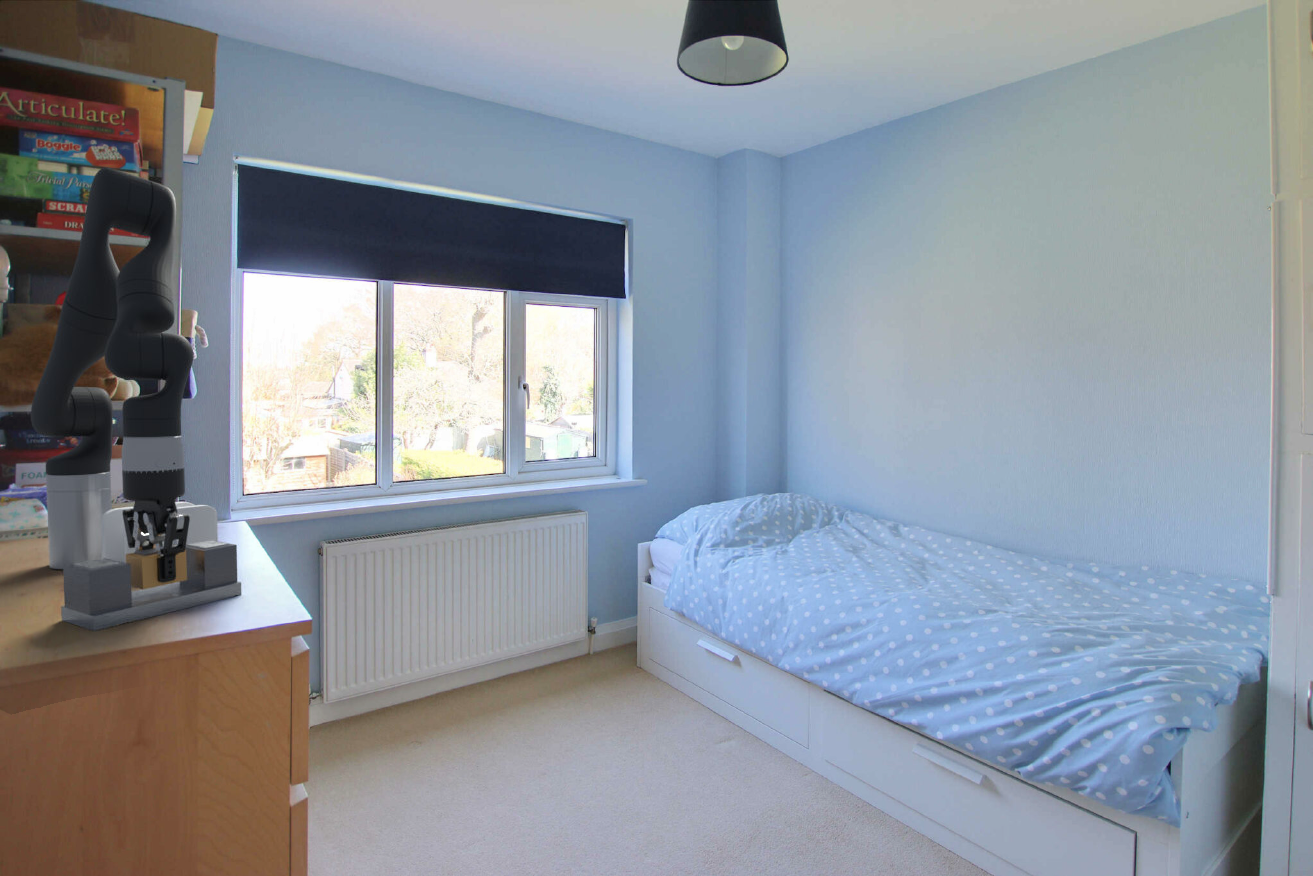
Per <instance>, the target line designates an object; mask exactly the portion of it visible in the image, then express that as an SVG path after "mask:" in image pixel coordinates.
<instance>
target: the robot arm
mask: <svg viewBox="0 0 1313 876" xmlns="http://www.w3.org/2000/svg"><path fill="white" fill-rule="evenodd" d="M89 189H90V190H89V193H88V198H87V202H86V203H87V204H86V208H85V214H84V219H83V220H84V221H83V227H82V232H81V237H80V244H79V247H78V251H77V256H76V258H75V259H76V261H75V263H74V266H73V270H72V273H71V276H70V280H69V283H68V284H67V285H68V286H67V288H66V292H65V294H64V298H63V302H62V306H61V309H60V315H59V319H58V323H57V329H56V332H55V336H54V341H53V345H52V348H51V351H50V355H49V357H48V361H47V363H46V365H45V368H44V371H43V372H42V374H41V378H40V379H39V383H38V386H37V388H36V390H35V393H34V396H33V400H32V402H31V403H32V404H31V408H30V409H31V410H30V422H31V425H32V428H33V429H34V431H35V432H36V433H37V434H38V435H40V436H42V437H43V436H44V437H51V438H65V437H66V438H68V437H69V438H70V437H80V442H79V443H78V444H77V445H76V446H75V447H73V448H72V449H70V450H68V451H65V452H63V453H59V454H57V455H54V456H51V457H49V458H47V460H46V462H45V480H46V481H45V485H46V486H45V487H46V507H47V508H46V509H47V531H48V535H47V537H48V560H49V563H48V564H49V566H48V567H49V568H50V569H53V570H63V565H69V564H75V563H81V562H87V561H92V560H98V559H102V535H101V517H102V515H103V514H104V513H105V512H107V511H109V510H111V509H113V507H112V506H113V505H112V480H111V478H112V477H111V475H112V473H111V462H112V455H113V428H114V427H113V426H114V425H113V423H114V418H113V417H114V411H113V402H112V398H111V396H110V394H109V393H108V391H106V390H105V389H104V388H101V387H92V386H76V384H77V382H78V380H79V379H80V378H81V377H82V375H83V374H84V373H85V372H86V371H87V370H88V369H89V368H91V367H92V366H93V365H95V364H96V363H97V362H98V361H100V360H101V359H103V357H104V363H105V366H106V368H107V370H109V371H110V373H111V374H112V375H113V376H115V377H117V378H118V379H122V380H134V381H135V380H136V381H137V380H141V381H142V380H143V381H144V380H145V381H150V380H152V381H161V380H162V381H165V382H164V383H165V384H164V386H163V387H162V388H161V390H159V391H157V392H155V393H154V392H153V393H151V394H144V395H138V396H137V395H136V396H132V397H129V398H126V399H125V400H124V401H123V404H122V410H121V411H122V436H123V438H122V447H121V469H122V470H121V471H122V472H121V473H122V497H123V499H124V500H125V501H133V502H134V504H133V506H132V507H133V509H128V510H123V513H122V514H123V520H124V525H125V531H126V536H127V541H128V546H129V548H134V550H135V552H136V551H141V550H147V549H153V548H155V549H156V554H157V557H158V558H157V577H158V581H159V582H162V583H164V582H169V581H173V580H175V579H176V559H175V556H176V555H178V553H181V552H184V551H185V548H186V541H187V534H188V527H189V520H190V517H189V515H188V514H186V515H179V514H178V513H177V508H176V504H175V502H176V500H177V499H178V498H181V497H183V496H184V495H185V494H186V480H185V478H186V477H185V476H186V475H185V450H184V445H183V439H182V438H183V437H182V403H183V402H182V401H183V396H184V391H185V388H186V384H187V381H188V379H189V376H190V372H191V370H192V367H193V361H194V356H195V355H194V349H193V347H192V345H191V343H190V341H189V340H188V339H187V338H186V337H184V336H183V335H182V334H178V333H170V332H169V333H168V332H167V331H168V330H170V329H171V328H172V327H173V326H174V323H175V306H174V298H173V297H174V295H173V288H172V287H173V286H172V270H173V269H172V268H173V260H174V252H175V251H174V249H175V239H176V238H175V237H176V228H177V227H176V226H177V202H176V197H175V195H174V192H173V191H172V190H171V189H170V188H169V187H168V186H165V185H163V184H160V183H159V182H155V181H152V180H149V179H146V178H144V177H140V176H137V175H134V174H131V173H127V172H124V171H121V170H118V169H114V168H110V167H103V168H100V169H99V170H98V171H97V172H96V174H95V175H94V176H93V180H92V183H91V185H90V187H89ZM111 229H117V230H120V231H125V232H128V233H131V234H135V235H139V236H143V237H148V238H150V240H149V241H148V244H147V245H146V246H145V247H144V248H143V249H142V250H140V251H139V253H137V254H136V255H135V256H133V257H132V258H131V259H129V260H128V262H126V263H125V264H124V265H123V266H122V268H121V270H120V269H119V268H118V265H117V263H116V260H115V259H114V255H113V252H112V249H111V246H110V241H109V236H110V232H111ZM166 332H167V333H166ZM162 534H165V536H162ZM177 539H179V540H178V545H177ZM163 541H164V547H163V544H162V542H163Z"/></svg>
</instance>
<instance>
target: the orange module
mask: <svg viewBox="0 0 1313 876" xmlns="http://www.w3.org/2000/svg"><path fill="white" fill-rule="evenodd" d="M157 558H158V557H157V554H156V549H155V548H153V549H147V550H141V551H136V552H134V553H130V554H126V563H128V564H131V588H136V589H138V590H141V589H148V588H153V587H157V586H162V585H166V584H171V583H176V582H180V581H185V580H187V562H186V550H185V551H184V552H181V553H178V555H176V556H175V559H176V579H175V580H173V581H169V582H164V583H162V582H159V581H158V577H157Z"/></svg>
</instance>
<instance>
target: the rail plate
mask: <svg viewBox="0 0 1313 876" xmlns="http://www.w3.org/2000/svg"><path fill="white" fill-rule="evenodd" d="M237 549H238V546H237V544H233V543H229V542H222V541H219V540H218V541H212V540H210V541H204V542H198V543H192V544H186V548H185V550H186V562H187V580H185V581H180V582H176V583H171V584H166V585H162V586H157V587H153V588H148V589H137V590H132V587H131V564H128V563H124V562H119V561H115V560H110V559H106V558H104V559H98V560H92V561H87V562H81V563H75V564H69V565H63V569H62V572H63V574H62V575H63V596H64V597H63V598H64V605H62V606H60V607H61V608H60V609H61V610H60V611H61V612H60V613H61V621H62V622H65V623H69V624H71V625H74V626H78V627H80V628H84V629H87V630H90V631H93V632H96V631H100V630H104V629H108V628H111V627H110V626H113V627H116V626H115V625H117V624H121V625H123V624H122V623H125V622H129V623H131V622H130V621H133V620H137V621H140V619H141V620H144V619H148V617H149V618H153V617H157V616H160V615H161V616H162V615H165V614H168V613H172V612H176V611H180V610H184V609H188V608H192V607H197V606H201V605H204V604H210V603H213V602H216V601H221V600H224V599H225V600H226V599H229V598H233V596H234V597H236V596H235V595H238V596H241V595H242V582H241V581H238V551H237ZM240 594H241V595H240ZM133 622H134V621H133ZM125 624H126V623H125ZM117 626H118V625H117ZM107 627H108V628H107ZM103 628H104V629H103ZM99 629H100V630H99Z"/></svg>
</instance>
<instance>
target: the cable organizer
mask: <svg viewBox="0 0 1313 876" xmlns="http://www.w3.org/2000/svg"><path fill="white" fill-rule="evenodd" d="M175 504H176V508H177V513H178V514H179V515H186V514H188V515H189V517H190V520H189V527H188V534H187V541H186V544H192V543H198V542H204V541H210V540H212V541H218V542H219V537H218V536H219V535H218V534H219V533H218V511H217V510H216V509H215V507H213V506H210V505H208V504H197V505H196V504H194V503H192V502H187V501H175ZM133 507H134V506H126V507H125V506H124V507H117V508H116V507H115V508H112V509H111V510H109V511H107V512H105V513H104V514H103V515H102V517H101V535H102V559H104V558H106V559H110V560H115V561H119V562H124V563H126V554H130V553H134V552H135V550H134V548H129V546H128V541H127V536H126V531H125V525H124V520H123V514H122V513H123V510H128V509H133ZM162 536H165V534H162ZM178 540H179V539H177V545H178ZM162 544H163V547H164V541H163V542H162Z"/></svg>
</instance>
